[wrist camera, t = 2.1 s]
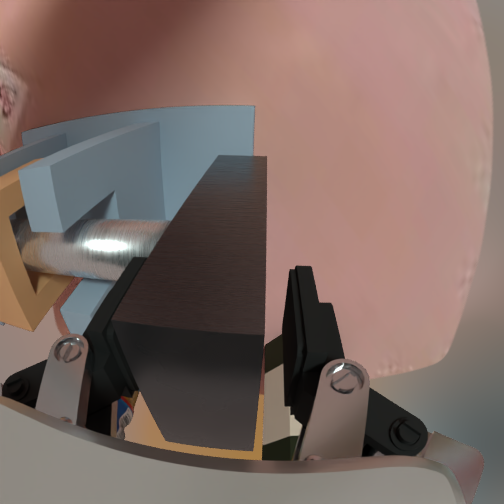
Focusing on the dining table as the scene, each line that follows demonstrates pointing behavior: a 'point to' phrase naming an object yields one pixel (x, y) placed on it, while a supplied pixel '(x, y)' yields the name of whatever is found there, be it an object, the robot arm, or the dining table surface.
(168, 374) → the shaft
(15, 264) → the tan square block
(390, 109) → the dining table surface
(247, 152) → the bearing block
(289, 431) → the wine bottle
